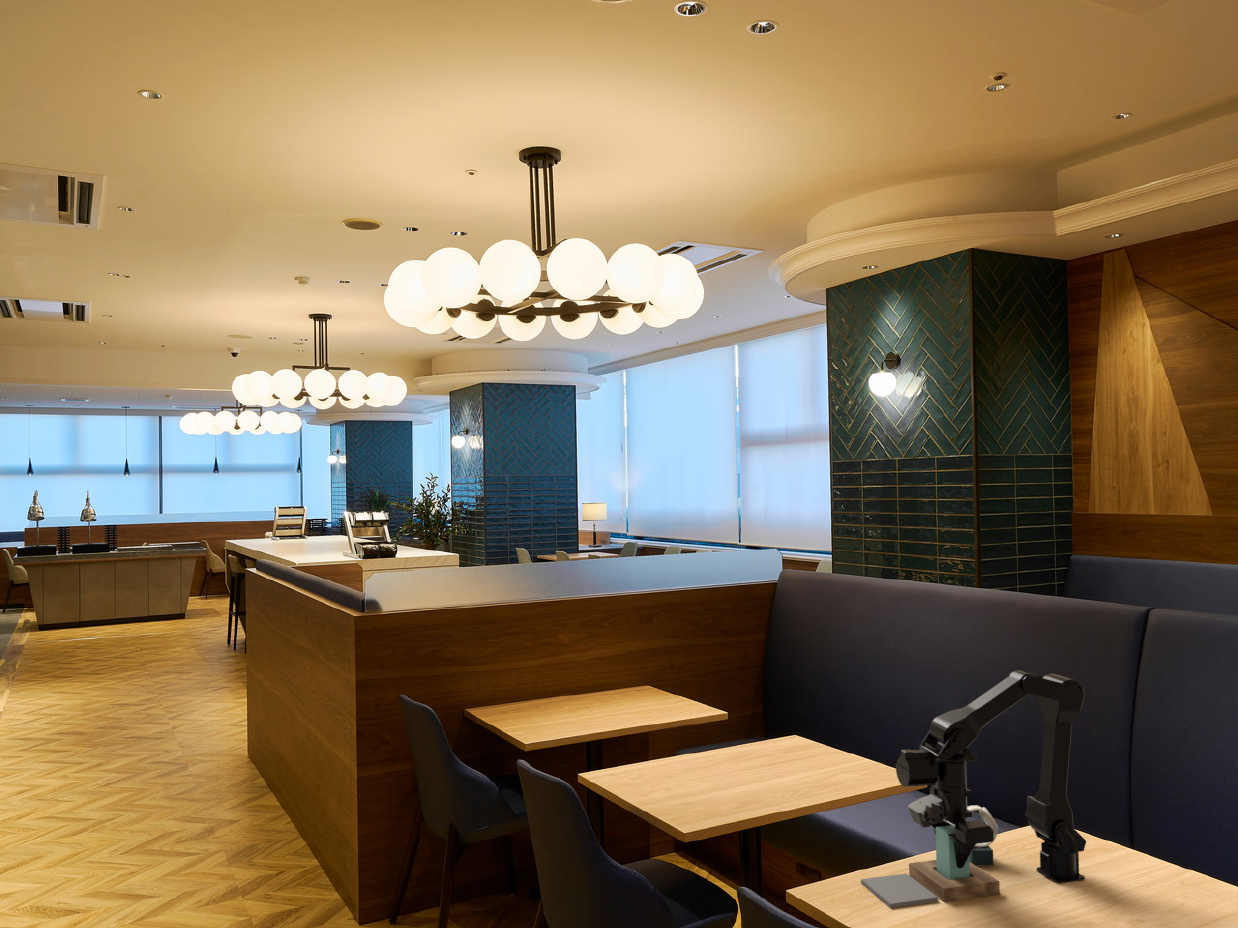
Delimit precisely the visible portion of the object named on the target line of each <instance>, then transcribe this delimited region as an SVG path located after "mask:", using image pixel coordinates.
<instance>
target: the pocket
mask: <svg viewBox="0 0 1238 928" xmlns="http://www.w3.org/2000/svg"><path fill="white" fill-rule="evenodd" d="M969 867H970V877H966V878H959V879H951V880H948V879H947V878H945V877H944V876H943V875H941V874H940V873H938V872H937V865H936V859H932V860H925V861H918V862H917V861H916V862H909V863H908V870H909V872H908V875H909V876H910V877H912V878H913V879H914V880H916V881H917V882H918V883H920V884H921V885H922V886H924V887H925V888H926V889H928V890H929V891H930V892H932V893H933V894H934V895H936V896H937V897H938V899H940V900H941V901H943V902H944V903H946V902H953V901H961V900H962V901H963V900H969V899H977V898H981V897H982V898H983V897H990V896H996V895H1001V894H1000V893H1001V892H1000V881H999V879H996V877H994V876H992V875H990V873H987V872H986V871H984V870H983V869H981V868H980V867H978V866H975V865H974V864H972V863H971V862H969Z"/></svg>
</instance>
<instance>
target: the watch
mask: <svg viewBox="0 0 1238 928" xmlns="http://www.w3.org/2000/svg"><path fill="white" fill-rule="evenodd" d="M967 809H968V810H970V811H971V812H972V813H973V812H977V811H978V813H979V816H980V817H981V819H982V822H983V823H985V824H987V825H989V826H990V827H991V828H992V829H993V830H994V841H996V838H997V837H998V835H999V834H998V830H999V829H1000V828H999V825H998V824H997V822H996V820H995V819H994V817H993V816H992V814H991V813H990V812H989V810H988V809H987V808H986V807H984V806H983V807H981V806H980V805H977V804H976V805H967ZM991 844H993V842H986V843H978V844H976V845H975V846H974V848H973V849H972V851H971V853H970V855H969V862H971V863H972V864H974V865H993V866H994V850H993V848H991V847H990V845H991Z"/></svg>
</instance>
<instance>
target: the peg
mask: <svg viewBox="0 0 1238 928" xmlns="http://www.w3.org/2000/svg"><path fill="white" fill-rule="evenodd" d="M948 834H955V826H953V825H949V826H940V827H936V835H935V852H936V853H935V855H936V856H935V857H936V859H935V860H936V865H937V872H938V873H940V874H941V875H943V876H944V877H945V878H947V879H948V880H951V879H959V878H966V877H970V867H969V857H968V859H967V861H966V863H965V865H964V867H963V868H958V867H957V864H956V857H955V848H954V842H953V840H952V839H951V838H950V837H949V836H948Z"/></svg>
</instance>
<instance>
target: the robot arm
mask: <svg viewBox="0 0 1238 928" xmlns="http://www.w3.org/2000/svg"><path fill="white" fill-rule="evenodd" d="M1029 695H1035V696H1038V701H1039V706H1040V708H1041V711H1042V713H1043V715H1044V716H1043V717H1044V729H1043V730H1044V731H1043V741H1042V753H1041V754H1042V755H1041V765H1040V766H1041V767H1040V776H1039V777H1040V778H1039V789H1038V791H1037V792H1036V794H1035V795H1034V796H1030V795H1028V796H1026V797H1027V798H1026V811H1025V813H1024V816H1026V817H1027V823H1028V825H1029V826H1030V827H1031V829H1032V830H1034V833H1035V835H1036V837H1037V838H1038V839H1041V840H1042V841H1043V842H1041V843H1040V845H1041V846H1040V847H1041V850H1040V851H1039V864H1040V865H1039V866H1038V867H1036V871H1037V872H1039V873H1040V874H1041V875H1043V876H1045V877H1047V878H1049V879H1051V880H1052V881H1054V882H1056V883H1058V884H1062V883H1068V882H1076V881H1083V880H1085V879H1086V876H1085V875H1083V874H1081V873H1080V855H1079V854H1080V853H1081V852H1084V851H1085V848H1086V845H1087V840H1086V839H1085V838H1084V837H1083V836H1082V835H1081V834H1080V833H1079V832H1078V831H1077V830H1076V829H1075V827H1074V816H1073V811H1072V808H1071V805H1070V802H1069V799H1068V797H1067V790H1068V779H1069V778H1068V776H1069V765H1070V764H1069V763H1070V751H1071V740H1072V739H1071V738H1072V730H1073V729H1072V727H1073V722H1074V721H1075V720H1076V719H1077V717H1078V716H1079V714H1080V713H1081V712H1082V711H1081V710H1082V708H1083V704H1084V703H1083V702H1084V699H1085V689H1084V687H1083V686H1082V685H1081V684H1080V683H1079V682H1078V681H1077V680H1075V679H1072V678H1069V677H1066V676H1063V675H1061V674H1060V675H1059V674H1056V673H1049V674H1046V675H1044V676H1043V675H1039V674H1035V673H1031V672H1030V673H1029V672H1025V671H1023V670H1018V669H1017V670H1014V671H1012V672H1011V673H1009V676H1008V677H1006V678H1004V679H1003V680H1002V681H1000V682H999V683H997V684H995V685H994V686H993V687H992V688H990V689H989V690H988V691H986V692H984V693H983V694H982V695H980V696H978V697H977V698H976V699H974V700H973V701H971V702H970V703H969V704H967V705H966V706H964V707H961V708H957V709H952V710H949V711H946V712H944V713H942V714H940V715H938V716H936V717H935V718H934V719H933V720H932V721H931V723H930V729H929V730H928V732H927V733H926V735H924V736H925V737H924V738H923V739H922V741H921V743H920V744H919V746H918V748H919V749H913V750H912V749H901V750H900V755H899V756H898V758H897V760H896V764H895V771H896V772H895V773H896V777H897V780H898V782H899V784H900V785H901V786H902V787H905V788H906V787H907V788H908V787H920V786H921V787H923V786H931V787H930V788H929V794H928V795H926V796H919V797H916V798H915V800H913V802H911V803H908V805H907V807H908V810H909V812H910V816H911V818H912V820H913V822H914V823H916V824H918V825H920V826H921V827H922V828H929V827H930V828H932V830H933V832H934V835H935V836H936V827H940V826H949V825H953V826H955V834H948V836H949V837H950V838H951V839H952V840H953V842H954V848H955V857H956V864H957V867H958V868H963V867H964V865H965V863H966V861H967V859H968V857H969V855H970V853H971V851H972V849H973V848H974V846H975V845H976V844H978V843H986V842H992V843H993V842H994V841H995V840H994V830H993V829H992V828H991V827H990V826H989V825H987V824H985V822H984V821H983V820H980V819H975V820H974V819H973V820H967V819H968V818H972V817H973V811H972V812H971V811H970V810H968V809H967V806H968V797H971V796H972V795H973V794H972V793H973V792H972V790H971V789H970V788H967V787H968V784H967V762H973V761H977V760H978V758H977V757H978V756H976V755H975V754H974V753H973V752H971V751H970V749H969V747H970V745H972V743H974V742H975V741H976V740H977V738H978V736H979V734H980V732H981V730H982V729H983V728H984V727H985V726H986V725H987V724H989V723H991V721H993V720H994V719H995V718H998V716H1000V715H1002V714H1003V713H1004V712H1005V711H1007V710H1008V709H1010V708H1011V707H1012V706H1013V707H1014V705H1015V704H1017V703H1018V702H1020V701H1022V700H1023V698H1025V697H1027V696H1029ZM937 744H938V745H941V746H942V748H941V747H939V746H937Z"/></svg>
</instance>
